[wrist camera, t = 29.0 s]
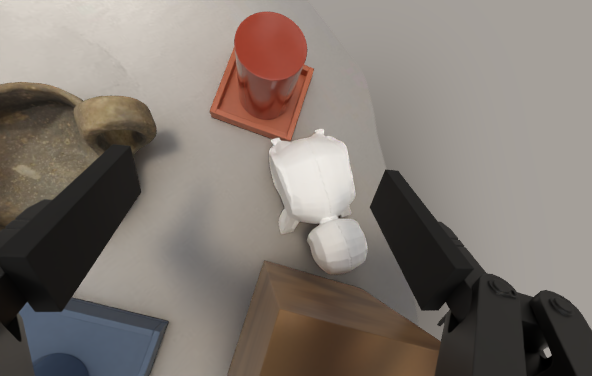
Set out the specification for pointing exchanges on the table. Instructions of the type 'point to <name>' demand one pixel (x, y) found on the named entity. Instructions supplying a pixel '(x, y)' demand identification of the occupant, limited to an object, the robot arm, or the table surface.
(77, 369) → the slate blue cylinder
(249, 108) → the red cylinder
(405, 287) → the table surface
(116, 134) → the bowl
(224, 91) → the red tray
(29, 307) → the blue tray
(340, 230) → the white turtle figurine
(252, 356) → the brown wooden block
